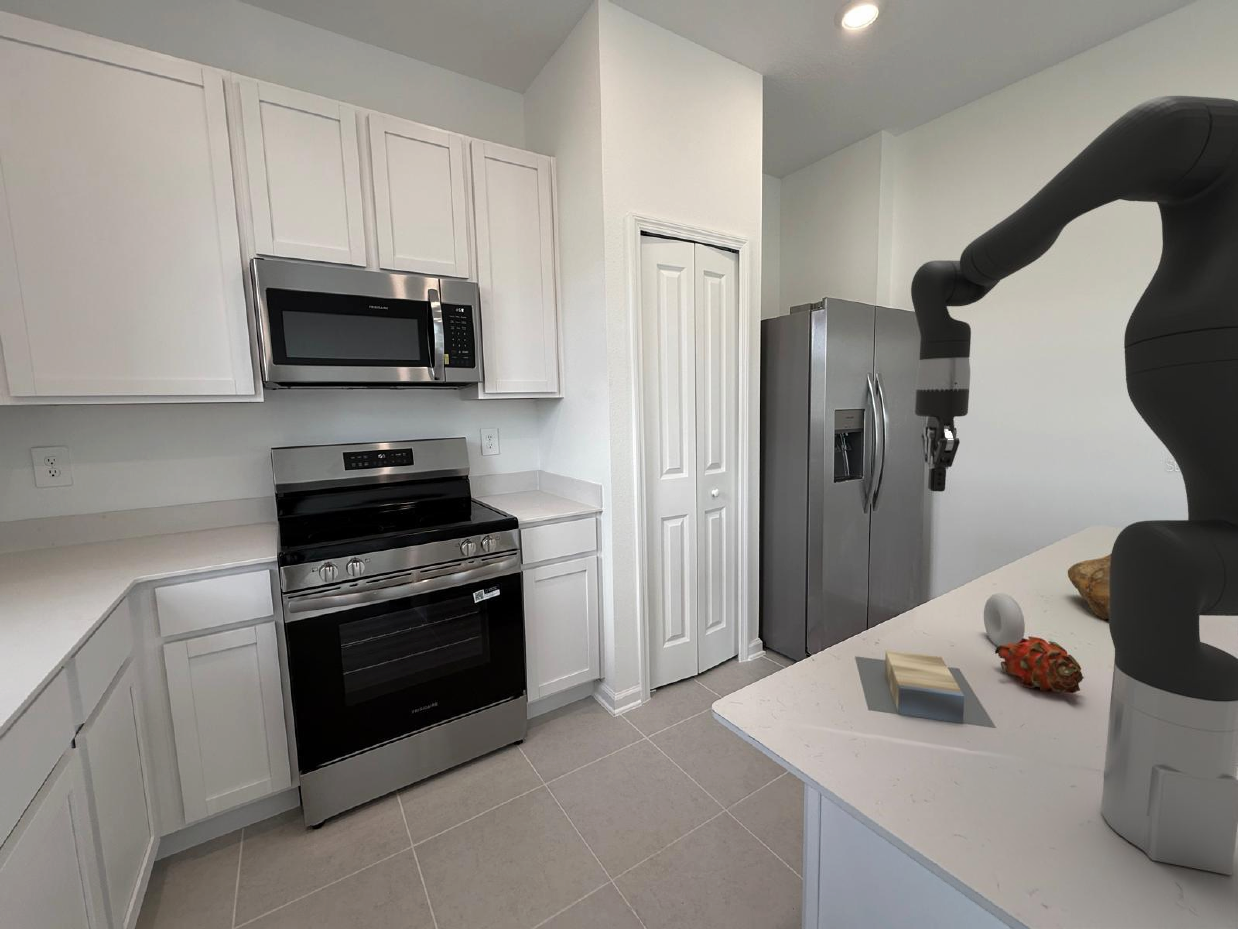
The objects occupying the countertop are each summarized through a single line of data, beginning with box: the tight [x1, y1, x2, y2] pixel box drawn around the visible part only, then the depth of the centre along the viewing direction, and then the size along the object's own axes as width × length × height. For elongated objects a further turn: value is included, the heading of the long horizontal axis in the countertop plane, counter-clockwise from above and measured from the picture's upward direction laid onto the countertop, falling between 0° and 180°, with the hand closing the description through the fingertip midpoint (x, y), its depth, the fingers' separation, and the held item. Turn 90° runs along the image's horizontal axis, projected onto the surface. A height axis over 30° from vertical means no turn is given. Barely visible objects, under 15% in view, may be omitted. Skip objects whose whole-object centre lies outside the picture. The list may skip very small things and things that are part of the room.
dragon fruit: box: [992, 636, 1085, 694], centre depth 84 cm, size 8×8×12 cm
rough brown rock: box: [1067, 553, 1111, 620], centre depth 112 cm, size 23×17×15 cm
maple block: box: [884, 650, 964, 724], centre depth 81 cm, size 4×8×12 cm
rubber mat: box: [854, 656, 997, 729], centre depth 83 cm, size 17×16×1 cm
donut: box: [983, 592, 1026, 648], centre depth 97 cm, size 10×3×10 cm, turn 168°
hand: (936, 490), depth 90 cm, fingers closed
